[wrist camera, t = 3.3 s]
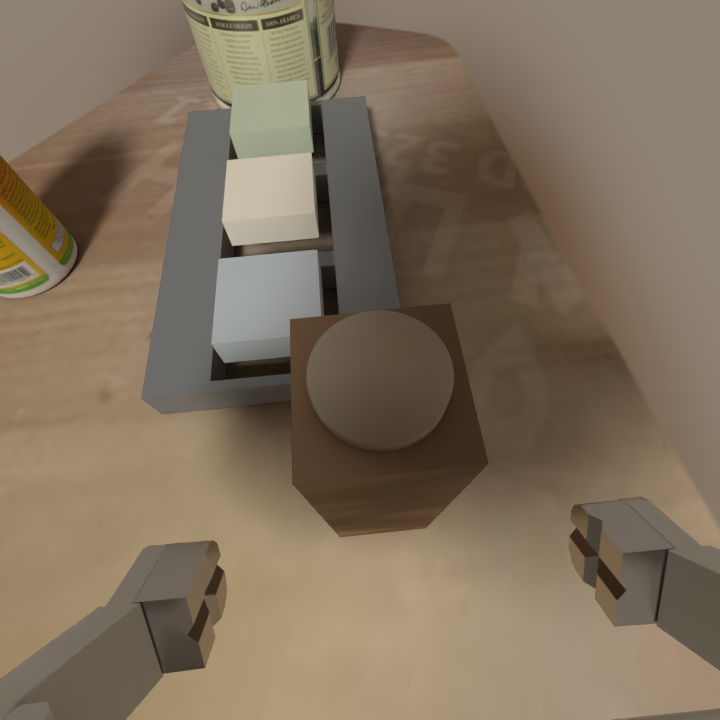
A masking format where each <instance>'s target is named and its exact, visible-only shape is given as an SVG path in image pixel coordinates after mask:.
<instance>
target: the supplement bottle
mask: <svg viewBox="0 0 720 720" xmlns="http://www.w3.org/2000/svg"><path fill="white" fill-rule="evenodd" d="M76 257H77V245H76V242H75V240H74V238H73V237H72V236H71V235H70V233H69V232H68V231H67V230H66V229H65V227H64V226H63V225H62V224H61V223H60V222H59V221H58V220H57V219H56V217H55V216H54V215H53V214H52V213H51V212H50V211H49V210H48V208H47V207H46V206H45V205H44V204H43V203H42V202H41V201H40V199H39V198H38V197H37V196H36V195H35V194H34V193H33V192H32V191H31V189H30V188H29V187H28V186H27V185H26V184H25V183H24V181H23V180H22V179H21V178H20V177H19V176H18V175H17V174H16V172H15V171H14V170H13V169H12V168H11V167H10V166H9V165H8V163H7V162H6V161H5V160H4V159H3V158H2V157H1V156H0V296H2V297H6V298H24V297H30V296H34V295H37V294H40V293H42V292H45V291H46V290H48V289H50V288H52V287H54V286H55V285H56V284H58V283H59V282H60V281H61V280H62V279H63V278H64V277H65V276H66V275H67V274H68V273H69V271H70V270H71V269H72V267H73V265H74V263H75V260H76Z"/></svg>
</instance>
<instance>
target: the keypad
mask: <svg viewBox="0 0 720 720" xmlns="http://www.w3.org/2000/svg"><path fill="white" fill-rule="evenodd" d="M310 105H311V117H312V133H313V134H316V133H324V141H325V153H326V163H323V164H313V166H314V173H315V180H316V196H317V202H327V201H330V213H331V225H332V237H333V249H334V250H333V251H323V252H318V257H319V263H320V268H321V275H322V290H332V289H337V296H338V308H339V314H347V313H358V312H367V311H377V310H388V309H398V308H401V307H400V301H399V295H398V289H397V283H396V277H395V271H394V265H393V259H392V253H391V247H390V242H389V236H388V230H387V224H386V218H385V212H384V206H383V200H382V194H381V188H380V182H379V176H378V170H377V165H376V159H375V153H374V147H373V141H372V135H371V129H370V123H369V117H368V111H367V105H366V99H365V96H362V97H351V98H340V99H329V100H318V101H310ZM231 109H232V108H229V109H218V110H207V111H196V112H189V113H188V119H187V125H186V131H185V137H184V143H183V149H182V155H181V161H180V167H179V174H178V180H177V186H176V192H175V198H174V204H173V210H172V216H171V222H170V228H169V234H168V240H167V246H166V252H165V258H164V264H163V270H162V276H161V283H160V289H159V295H158V301H157V307H156V313H155V319H154V325H153V331H152V337H151V343H150V349H149V355H148V361H147V367H146V373H145V379H144V386H143V392H142V399H143V400H144V401H145V402H147V403H148V404H149V405H151V406H152V407H153V408H155V409H156V410H157V411H159V412H160V413H161V414H169V413H179V412H189V411H199V410H209V409H219V408H229V407H239V406H249V405H259V404H269V403H279V402H289V401H291V373H290V374H280V375H270V376H260V377H250V378H239V379H229V380H226V368H227V363H224V361H223V360H222V359H221V357H220V356H219V354H218V353H217V352H216V350H215V349H214V347H213V346H212V344H211V342H212V330H213V318H214V307H215V295H216V283H217V272H218V260H219V259H222V258H233V257H234V246H232V244H231V242H230V239H229V237H228V235H227V232H226V230H225V228H224V225H223V223H222V213H223V202H224V190H225V179H226V167H227V160H235V159H238V157H237V154H236V151H235V148H234V145H233V142H232V139H231V136H230V133H229V132H230V120H231Z"/></svg>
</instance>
